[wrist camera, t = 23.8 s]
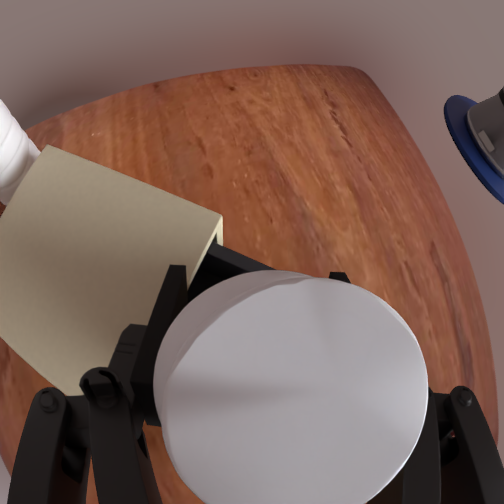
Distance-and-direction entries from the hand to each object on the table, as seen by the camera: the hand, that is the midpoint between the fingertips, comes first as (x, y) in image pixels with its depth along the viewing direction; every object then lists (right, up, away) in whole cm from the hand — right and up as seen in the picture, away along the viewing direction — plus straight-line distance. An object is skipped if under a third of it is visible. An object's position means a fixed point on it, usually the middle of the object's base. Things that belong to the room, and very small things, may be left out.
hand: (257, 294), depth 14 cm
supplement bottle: (0, -5, +3) cm, 5 cm away
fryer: (-12, -1, +9) cm, 16 cm away
